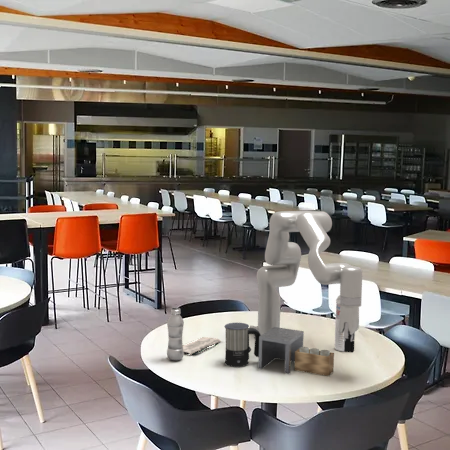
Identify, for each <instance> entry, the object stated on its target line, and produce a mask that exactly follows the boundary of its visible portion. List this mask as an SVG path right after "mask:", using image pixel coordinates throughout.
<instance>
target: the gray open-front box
mask: <svg viewBox="0 0 450 450" xmlns="http://www.w3.org/2000/svg"><path fill="white" fill-rule="evenodd" d="M304 334H305V333H304V330H303V331H302V330H298V329H293V328H292V329H291V328H285V327H284V328H283V327H280V328H278V327H274V328H272V329H270V330H269V331H267V332H266V333H264V334H262V335H261V336H259V357H258V366H257V368H258V369H259V370H262V369H263V368H265V367H267V366H268V365H269V364H270V363H272V362H273V361H275V360H280V361H284V374H286V375H289V374H291V367H292V366H291V364H292V362H294V363H295V352H296V351H297V350H298V349H299V348H300V347H304V337H305V336H304Z"/></svg>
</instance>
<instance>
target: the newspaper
mask: <svg viewBox="0 0 450 450" xmlns="http://www.w3.org/2000/svg"><path fill="white" fill-rule="evenodd" d="M199 338H200V339H199ZM199 338H197V339H198V340H197V341H195V342H192V341H191V342H192V343H189V342H188V343H189V344H187V343H186V344H187V345H184V344H183V351H184V353H189V354H190V355H189V356H192V354H193V353H195V352H197V351H198V352H199V351H201V350H202V349H204V348H207V347H209V346H212V345H214V344H216V343H218V344H219V342H220V343H221V342H222V340H221V339H219V338H215V337H205V336H202V338H201V337H199Z"/></svg>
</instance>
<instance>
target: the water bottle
mask: <svg viewBox="0 0 450 450" xmlns="http://www.w3.org/2000/svg"><path fill="white" fill-rule="evenodd" d="M335 304H336V306H335V307H336V308H335V309H336V310H335V325H334V326H335V327H334V350H336V351H337V352H338V351H339V352H345V351H344V342H345V340H344V332H342V333H339V322H340V311H341V305H340V294H339V295H338V296H337V298H336V299H335ZM345 353H346V352H345Z"/></svg>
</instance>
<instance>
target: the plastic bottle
mask: <svg viewBox="0 0 450 450" xmlns="http://www.w3.org/2000/svg"><path fill="white" fill-rule="evenodd" d="M181 313H182V312H181V308H180V307H172V308H170V316H169V318H168V319H167V322H166V324H167V332H168V333H167V334H168V336H167V337H168V343H167V349H166V356H167V359H168V360H169V361H181V360H182V359H183V358H184V354H185V352H184V351H183V345H184V344H183V334H184V325H185V324H184V323H185V322H184V319H183V317H182V316H181Z"/></svg>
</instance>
